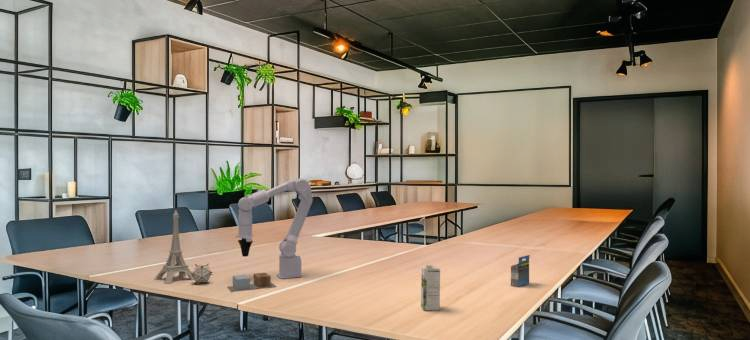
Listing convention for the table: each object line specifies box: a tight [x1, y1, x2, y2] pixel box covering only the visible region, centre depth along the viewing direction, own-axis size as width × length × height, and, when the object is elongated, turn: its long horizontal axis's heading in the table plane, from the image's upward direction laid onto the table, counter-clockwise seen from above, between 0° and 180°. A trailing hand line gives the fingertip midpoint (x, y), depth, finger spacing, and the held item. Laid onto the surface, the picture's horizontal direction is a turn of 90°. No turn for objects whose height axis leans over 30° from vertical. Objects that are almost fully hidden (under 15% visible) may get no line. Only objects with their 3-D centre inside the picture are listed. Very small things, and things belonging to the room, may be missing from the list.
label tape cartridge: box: [510, 254, 530, 288], centre depth 211 cm, size 9×4×12 cm, turn 134°
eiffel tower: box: [153, 209, 195, 285], centre depth 220 cm, size 13×13×30 cm
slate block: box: [232, 274, 251, 290], centre depth 205 cm, size 5×4×8 cm
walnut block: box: [253, 272, 272, 287], centre depth 209 cm, size 5×4×8 cm
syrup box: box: [420, 264, 441, 311], centre depth 176 cm, size 6×6×14 cm
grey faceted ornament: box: [191, 263, 213, 285], centre depth 212 cm, size 9×8×10 cm
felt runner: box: [226, 282, 277, 292], centre depth 206 cm, size 18×8×1 cm, turn 117°
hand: (245, 256), depth 220 cm, fingers closed
